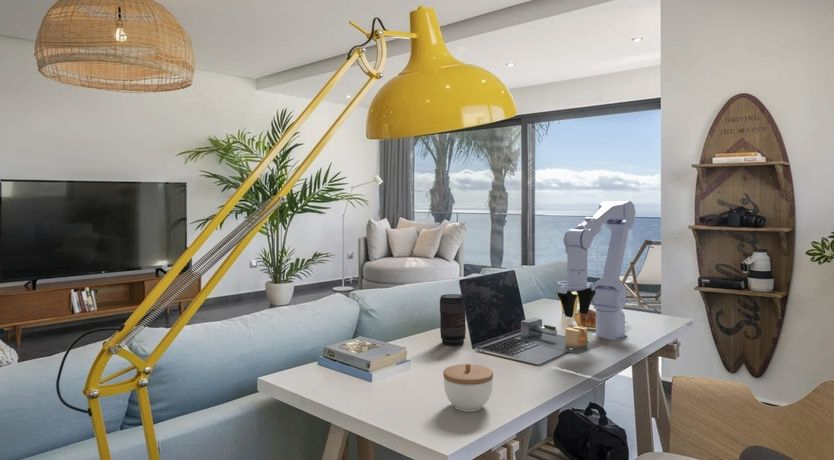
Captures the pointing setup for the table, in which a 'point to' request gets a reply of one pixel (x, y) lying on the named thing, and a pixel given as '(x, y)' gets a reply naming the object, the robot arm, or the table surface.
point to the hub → (576, 337)
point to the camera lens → (452, 319)
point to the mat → (556, 343)
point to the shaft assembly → (536, 328)
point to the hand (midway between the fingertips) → (576, 315)
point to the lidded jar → (468, 386)
